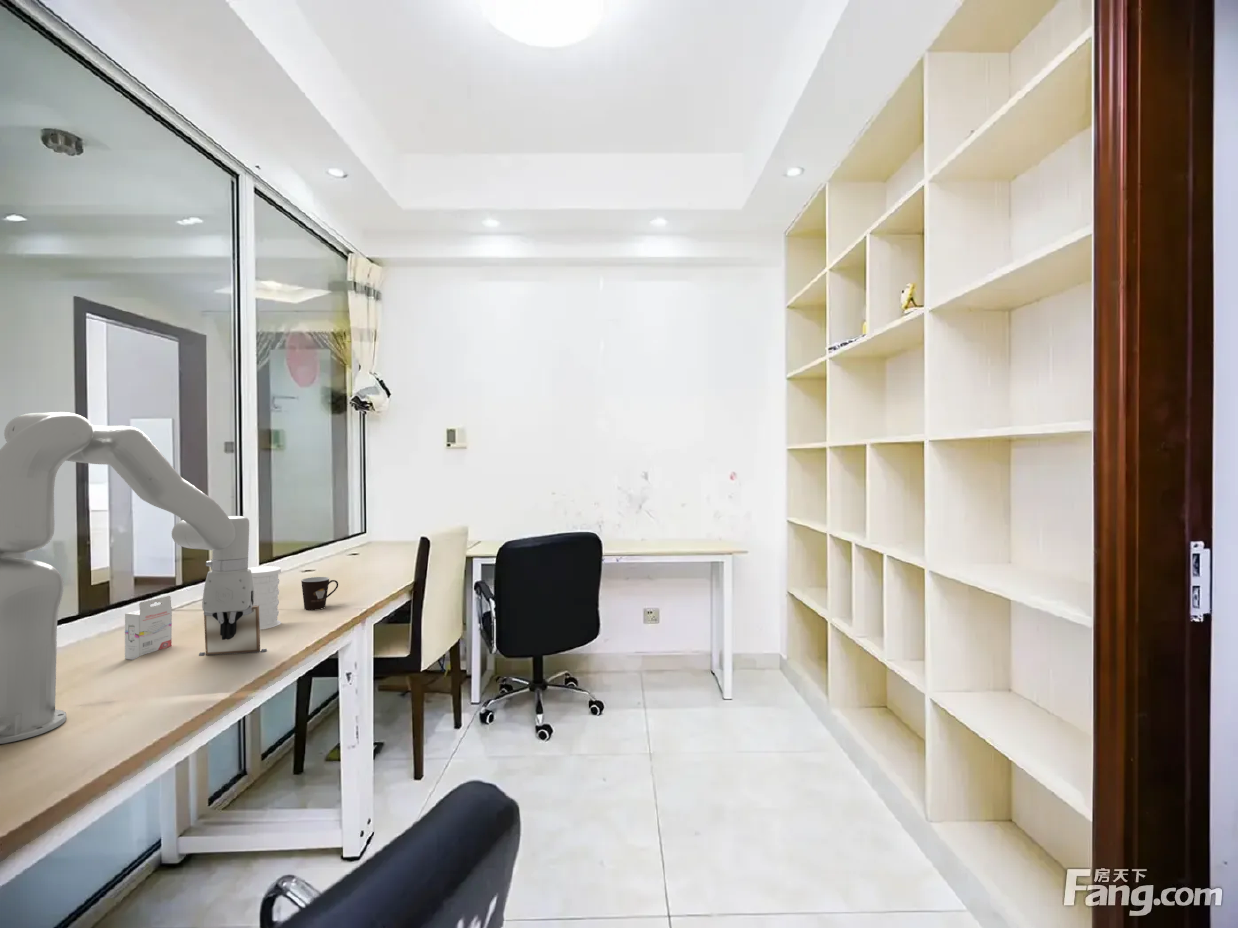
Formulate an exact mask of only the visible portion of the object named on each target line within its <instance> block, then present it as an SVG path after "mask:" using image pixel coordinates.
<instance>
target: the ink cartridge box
mask: <svg viewBox="0 0 1238 928" xmlns="http://www.w3.org/2000/svg"><path fill="white" fill-rule="evenodd" d="M171 598H172V597H171V595H167V596H163V597H162V596H161V597H157V598H153V599H149V600H146V601H145V600H144V601H141V602H139V603H138V604H139V605H138V606H139V609H138V610H134V611H130V612H125V613H124V659H125V660H131V661H134V660H136V659H138V658H139V657H142V656H143V655H148V654H150V653H153V652H157V651H159V650H163V649H167V648H168V647H169V648H170V647H172V639H173V638H172V637H173V636H172V634H173V633H172V631H173V628H172V627H173V625H172V624H173V621H172V620H173V619H172V618H173V615H172V613H173V607H172V599H171ZM155 603H160V604H156V605H153V604H155ZM151 605H153V606H151Z"/></svg>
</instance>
